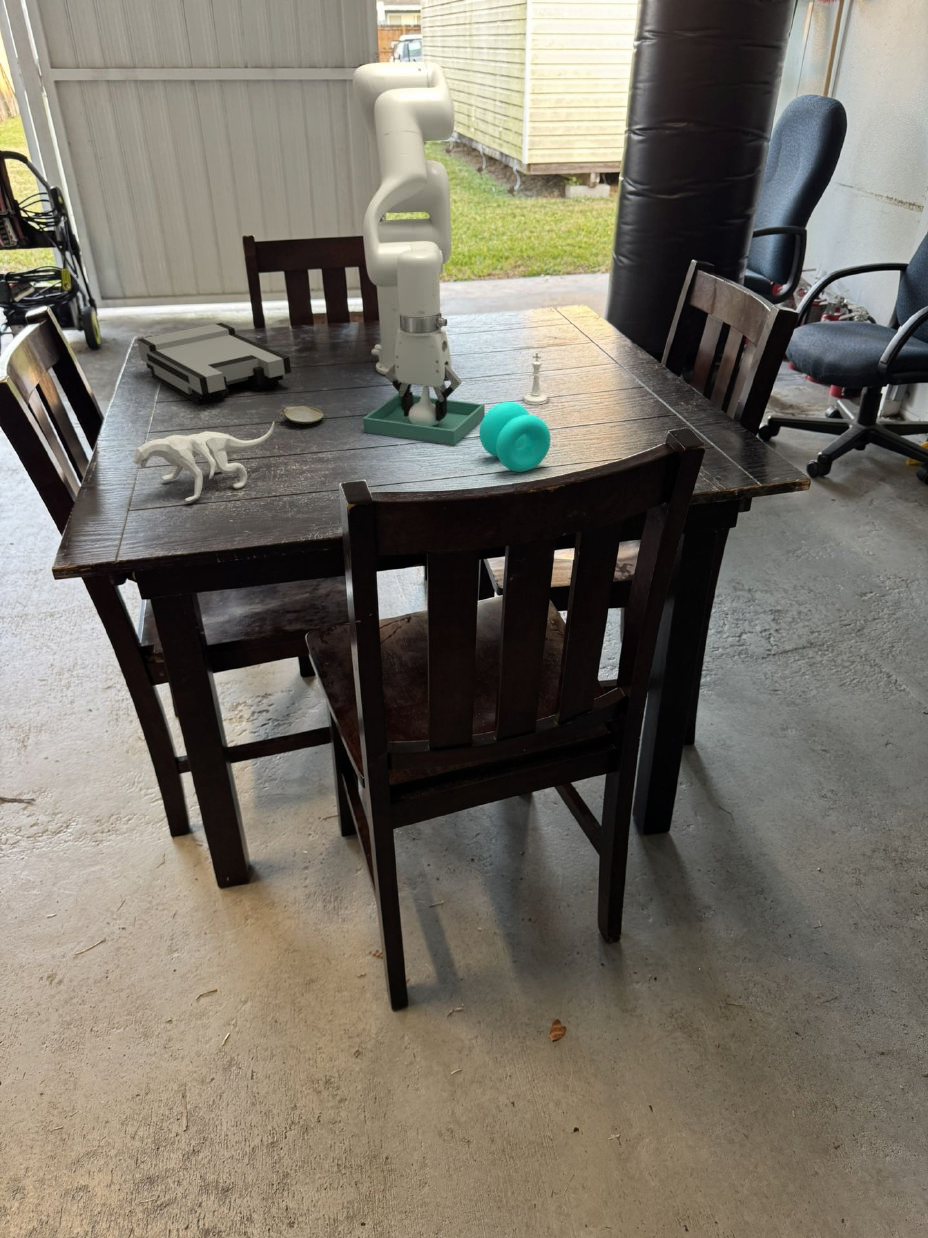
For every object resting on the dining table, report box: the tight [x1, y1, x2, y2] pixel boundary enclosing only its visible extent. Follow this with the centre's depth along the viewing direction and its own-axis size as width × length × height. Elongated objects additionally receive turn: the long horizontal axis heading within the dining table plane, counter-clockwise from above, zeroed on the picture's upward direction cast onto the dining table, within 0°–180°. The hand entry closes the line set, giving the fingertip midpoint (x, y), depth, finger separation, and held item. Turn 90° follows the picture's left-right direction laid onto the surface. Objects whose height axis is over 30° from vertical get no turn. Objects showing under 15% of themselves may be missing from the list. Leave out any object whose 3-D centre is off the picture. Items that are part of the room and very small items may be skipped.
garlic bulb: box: [409, 386, 440, 427], centre depth 164 cm, size 6×6×8 cm
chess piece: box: [523, 352, 548, 406], centre depth 174 cm, size 5×5×10 cm
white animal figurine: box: [132, 420, 275, 503], centre depth 142 cm, size 12×25×10 cm, turn 126°
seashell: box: [279, 405, 324, 425], centre depth 168 cm, size 8×3×8 cm
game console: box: [136, 322, 292, 406], centre depth 188 cm, size 21×32×8 cm, turn 40°
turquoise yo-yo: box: [479, 401, 551, 473], centre depth 147 cm, size 10×10×10 cm
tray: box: [362, 393, 486, 446], centre depth 165 cm, size 19×15×3 cm
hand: (424, 415), depth 165 cm, fingers closed on garlic bulb, 6 cm apart
